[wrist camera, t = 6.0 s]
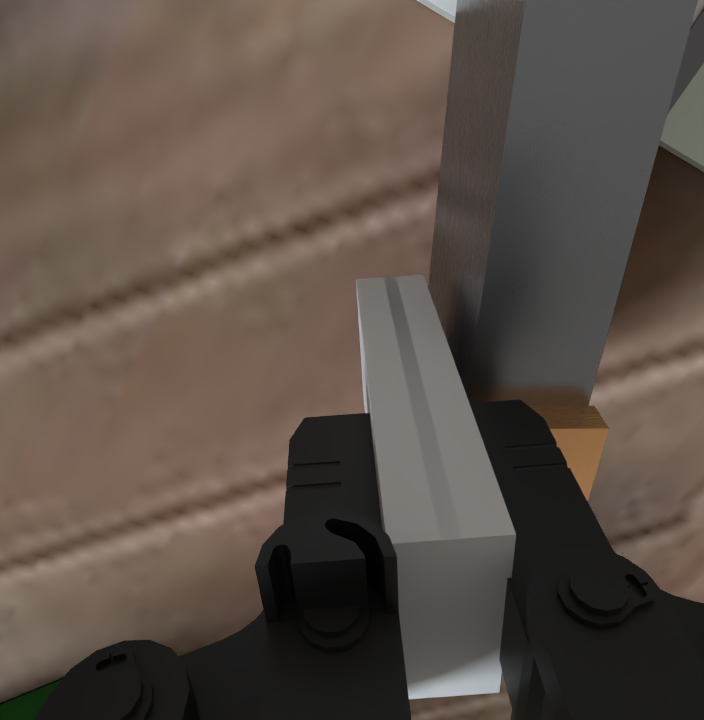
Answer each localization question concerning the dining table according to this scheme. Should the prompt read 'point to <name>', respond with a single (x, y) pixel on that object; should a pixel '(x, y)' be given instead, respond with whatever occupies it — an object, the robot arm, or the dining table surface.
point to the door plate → (690, 96)
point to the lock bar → (547, 194)
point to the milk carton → (26, 704)
